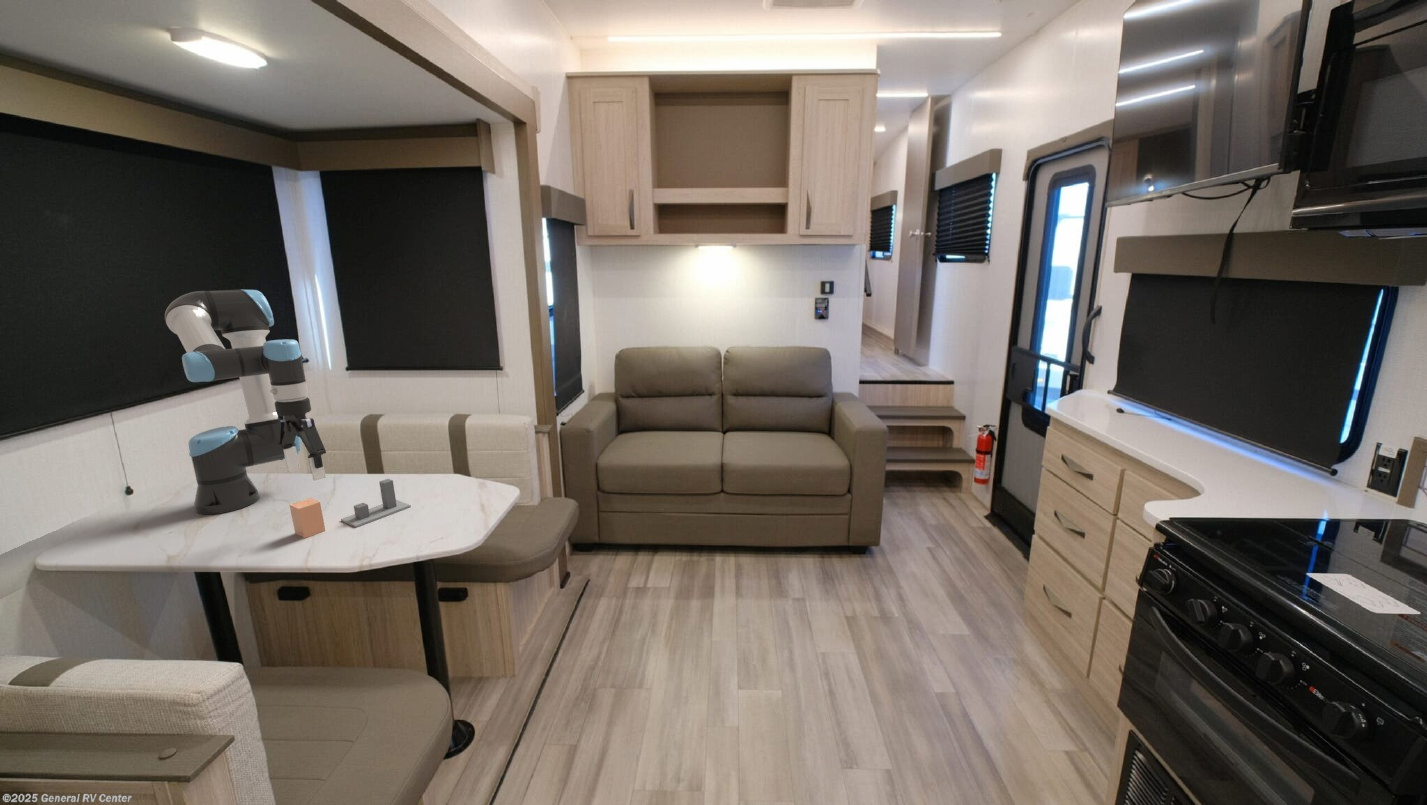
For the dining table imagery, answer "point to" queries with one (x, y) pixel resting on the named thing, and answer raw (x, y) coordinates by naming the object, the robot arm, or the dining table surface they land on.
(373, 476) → the dining table surface
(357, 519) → the stand
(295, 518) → the orange block
